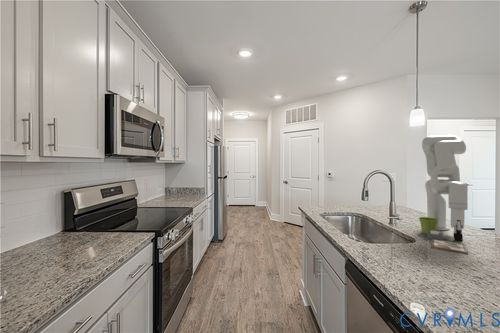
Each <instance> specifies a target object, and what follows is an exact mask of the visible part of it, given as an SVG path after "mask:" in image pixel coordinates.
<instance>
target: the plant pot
mask: <svg viewBox="0 0 500 333" xmlns="http://www.w3.org/2000/svg"><path fill="white" fill-rule="evenodd" d="M418 219H419V222H420V228H421V232H422V234H426V235H427V231H430V230H435V231H437V230H436V224H437V222H438V219H435V218H429V217H427V216H421V217H418Z"/></svg>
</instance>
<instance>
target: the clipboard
mask: <svg viewBox="0 0 500 333" xmlns="http://www.w3.org/2000/svg"><path fill="white" fill-rule="evenodd" d="M431 249H435V250H440V251H441V250H442V251H446V252H451V253H459V254H464V255H468V254H469V252H468V250H467V248H466V245H465V243H463V242H462V243H457V242H454V241H450V240H444V239H443V240H437V239H431Z"/></svg>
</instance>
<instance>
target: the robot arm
mask: <svg viewBox="0 0 500 333" xmlns="http://www.w3.org/2000/svg"><path fill="white" fill-rule="evenodd" d="M421 148H422V150H423V153H424V155H425V159H426V173H427V175H428V177H430V179H428V180H427V181H425V185H424V187H425V193H426V214H427V215H426V217H429V218H435V219H438V222H437V224H436V230H435V231H449V230H450V227H451V228H453V229H454V227H455V233H454V232H453V242H454V241H458V242H462V243H463V237H464V236H463V235H464V234H463V229H465V218H466V217H465V214H466V213H465V211H467V210H468V208H469V207H468V203H469V202H468V200H469V199H468V198H469V197H468V189H469V188H468V184H467V183H465V182H462V181H461V175H460V169H459V166H458V164H457V161H456V157H455V156H456V155H463V154H465V152H466V151H467V145H466V143H465V141H464V140H463V139H461V138H460V137H459V136H457V135H454V134H448V135H447V134H446V135H443V134H442V135H429V136H426V137H424V138H423V139H422V142H421ZM439 178H440V179H439ZM442 178H447V179H442ZM442 195H448V205H447V201H446V200H445V198H444V197H443V196H442ZM447 206H448V208H449V209H450V227H449V226H447ZM456 227H457V228H456ZM456 229H457V230H456Z"/></svg>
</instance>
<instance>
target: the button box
mask: <svg viewBox="0 0 500 333" xmlns="http://www.w3.org/2000/svg"><path fill="white" fill-rule="evenodd" d="M432 239H437V240H444V233H443V232H440V235H436V234H430V231H427V233H426V240H432Z"/></svg>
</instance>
